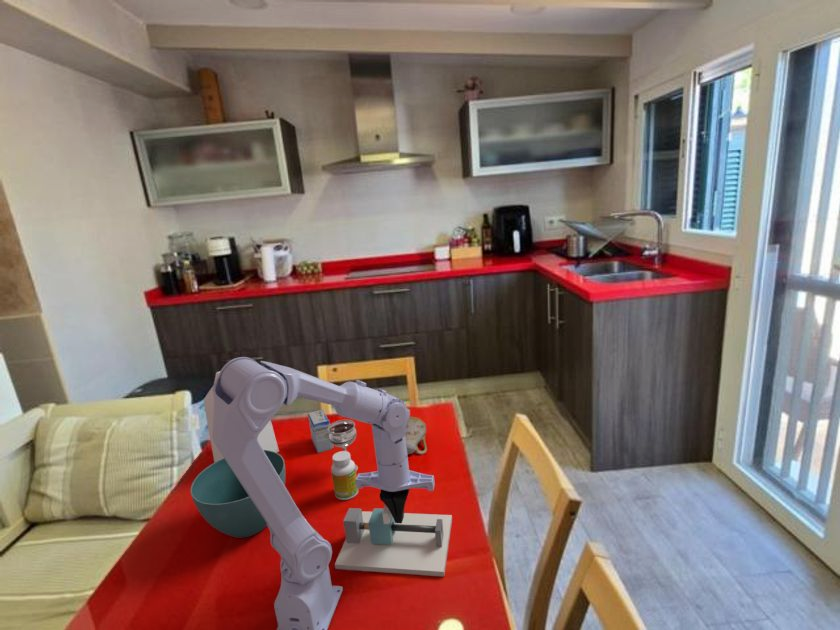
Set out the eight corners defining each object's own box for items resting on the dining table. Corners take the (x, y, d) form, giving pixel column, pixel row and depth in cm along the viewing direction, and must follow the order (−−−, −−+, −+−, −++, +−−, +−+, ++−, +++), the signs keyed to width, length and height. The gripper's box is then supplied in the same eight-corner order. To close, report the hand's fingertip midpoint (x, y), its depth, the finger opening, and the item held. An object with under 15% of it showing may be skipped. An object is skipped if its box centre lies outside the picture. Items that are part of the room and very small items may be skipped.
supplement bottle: (354, 501, 98) (348, 463, 96) (331, 500, 99) (325, 462, 97) (361, 486, 103) (356, 449, 101) (340, 484, 104) (334, 448, 102)
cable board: (444, 576, 77) (441, 548, 75) (335, 568, 80) (330, 541, 79) (452, 519, 90) (449, 494, 88) (358, 515, 94) (355, 490, 92)
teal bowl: (311, 511, 96) (302, 462, 93) (237, 571, 82) (224, 515, 79) (260, 487, 106) (250, 442, 103) (186, 536, 92) (172, 486, 89)
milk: (242, 475, 112) (220, 381, 105) (214, 464, 118) (193, 374, 111) (279, 451, 121) (261, 363, 115) (252, 442, 128) (234, 358, 121)
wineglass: (364, 472, 108) (358, 428, 105) (337, 481, 106) (330, 436, 103) (357, 458, 114) (351, 417, 111) (331, 466, 112) (325, 424, 109)
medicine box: (312, 440, 125) (307, 413, 123) (327, 435, 127) (323, 408, 125) (317, 453, 118) (312, 424, 116) (334, 448, 120) (329, 420, 118)
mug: (394, 459, 113) (388, 419, 116) (410, 455, 122) (404, 418, 124) (420, 455, 110) (414, 415, 113) (434, 451, 119) (428, 414, 122)
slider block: (391, 544, 83) (387, 513, 81) (371, 543, 84) (366, 512, 82) (396, 529, 87) (392, 498, 85) (376, 528, 87) (372, 497, 86)
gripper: (434, 444, 82) (439, 506, 86) (360, 443, 85) (368, 503, 89) (428, 467, 76) (435, 533, 79) (348, 465, 78) (358, 529, 82)
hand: (399, 519), depth 83 cm, fingers closed
